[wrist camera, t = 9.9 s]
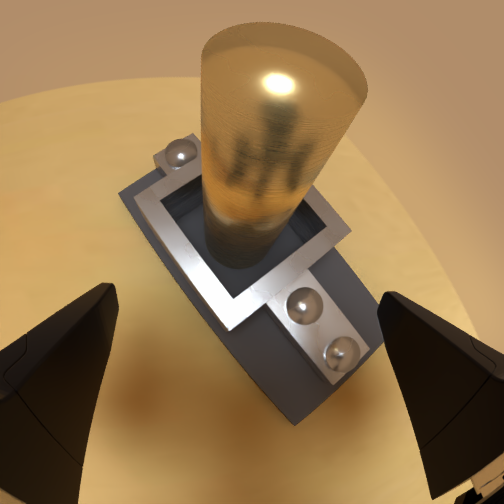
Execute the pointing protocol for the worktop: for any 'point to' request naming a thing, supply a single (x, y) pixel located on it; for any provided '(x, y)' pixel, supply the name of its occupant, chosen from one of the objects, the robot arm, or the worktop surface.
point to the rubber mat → (259, 322)
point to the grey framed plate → (273, 283)
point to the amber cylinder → (268, 130)
